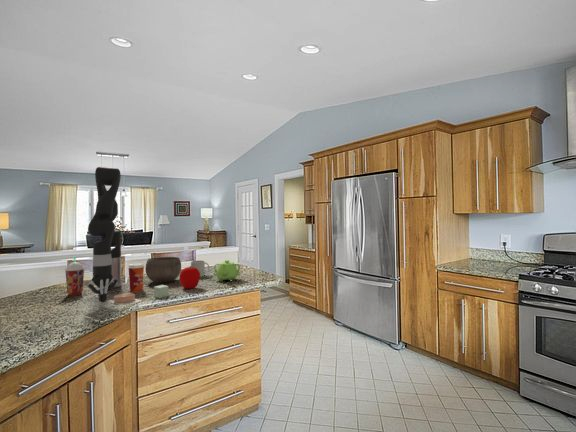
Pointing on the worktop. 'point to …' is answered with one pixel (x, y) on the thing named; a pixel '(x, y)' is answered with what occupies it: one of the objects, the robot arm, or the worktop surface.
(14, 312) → the worktop surface
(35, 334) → the worktop surface
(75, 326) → the worktop surface
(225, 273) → the teapot
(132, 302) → the mat
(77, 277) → the smoothie
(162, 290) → the cube
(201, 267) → the mug
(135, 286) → the coffee cup
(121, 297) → the peach domed disc
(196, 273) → the tomato
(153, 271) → the bowl
